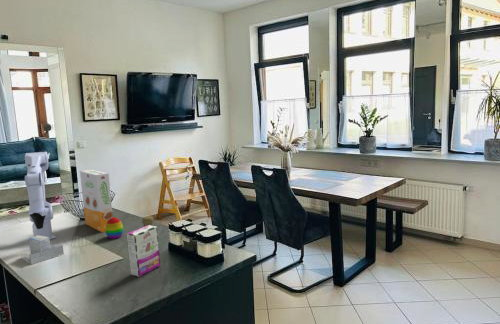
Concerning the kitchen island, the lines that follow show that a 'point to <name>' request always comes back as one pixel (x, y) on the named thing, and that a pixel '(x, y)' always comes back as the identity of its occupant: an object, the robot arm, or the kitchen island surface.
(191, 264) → the kitchen island surface
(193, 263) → the kitchen island surface
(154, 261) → the candy bar box
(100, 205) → the cereal box
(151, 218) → the cork
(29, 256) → the jig bracket
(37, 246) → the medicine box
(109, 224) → the decorative egg
